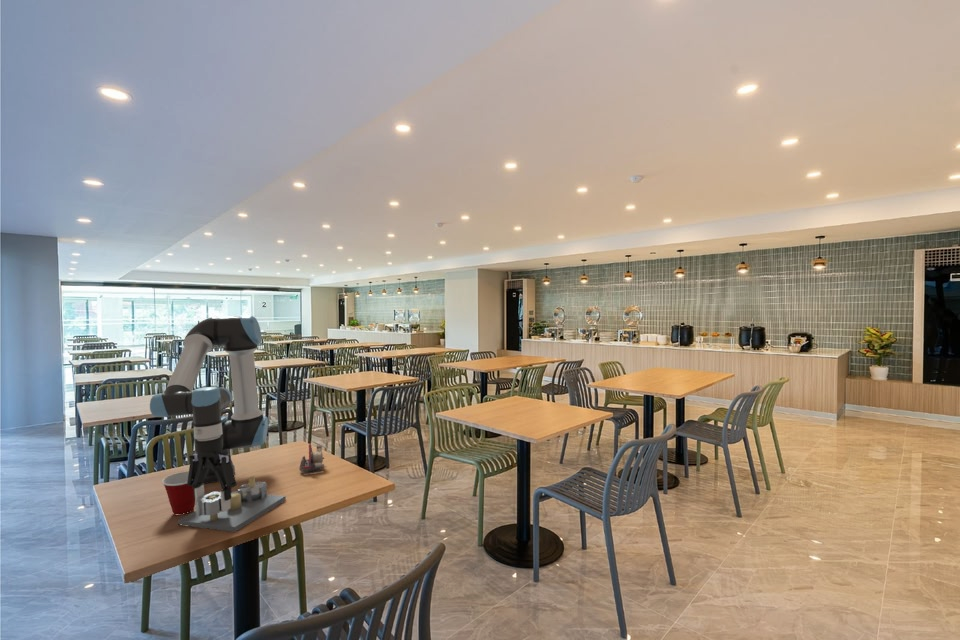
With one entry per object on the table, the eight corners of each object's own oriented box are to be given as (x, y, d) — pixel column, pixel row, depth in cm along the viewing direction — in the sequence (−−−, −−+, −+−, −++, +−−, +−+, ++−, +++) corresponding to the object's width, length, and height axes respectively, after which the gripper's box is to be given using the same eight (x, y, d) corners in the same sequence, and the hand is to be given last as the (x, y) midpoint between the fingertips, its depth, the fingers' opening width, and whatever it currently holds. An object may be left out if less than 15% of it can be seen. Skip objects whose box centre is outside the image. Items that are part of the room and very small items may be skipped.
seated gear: (232, 501, 153) (232, 490, 153) (251, 491, 161) (250, 480, 161) (254, 503, 151) (253, 491, 150) (272, 493, 159) (271, 482, 158)
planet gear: (188, 515, 137) (187, 502, 137) (214, 501, 146) (213, 489, 146) (212, 517, 134) (211, 504, 134) (237, 504, 143) (236, 491, 143)
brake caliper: (294, 461, 188) (312, 437, 190) (317, 474, 191) (334, 450, 192) (291, 471, 177) (310, 445, 179) (316, 484, 180) (334, 458, 182)
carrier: (178, 525, 141) (176, 498, 140) (234, 495, 162) (232, 472, 161) (235, 532, 135) (233, 504, 134) (285, 500, 156) (284, 476, 155)
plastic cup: (172, 522, 143) (170, 485, 142) (158, 514, 149) (156, 479, 148) (209, 508, 152) (206, 473, 151) (194, 502, 158) (191, 468, 157)
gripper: (170, 439, 139) (174, 511, 140) (227, 442, 133) (232, 517, 134) (191, 433, 146) (196, 501, 147) (247, 435, 140) (251, 506, 141)
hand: (213, 508), depth 140 cm, fingers closed on planet gear, 9 cm apart
